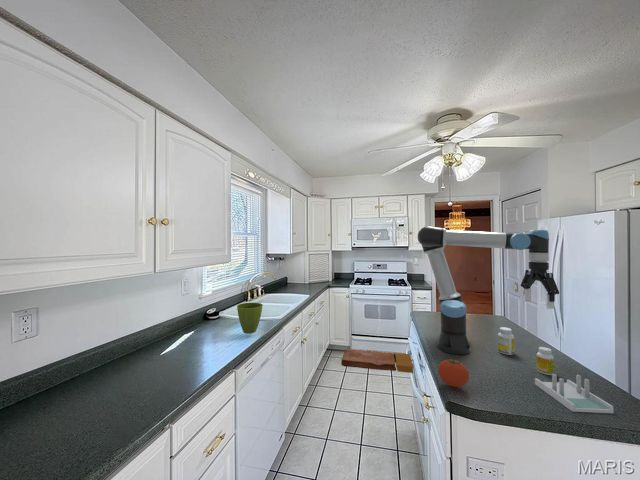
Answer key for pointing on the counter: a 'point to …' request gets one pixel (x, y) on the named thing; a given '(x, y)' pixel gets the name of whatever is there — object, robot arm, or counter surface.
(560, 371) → the counter surface
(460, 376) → the tomato
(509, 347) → the pill bottle
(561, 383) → the tray
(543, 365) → the supplement bottle
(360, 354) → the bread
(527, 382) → the counter surface
